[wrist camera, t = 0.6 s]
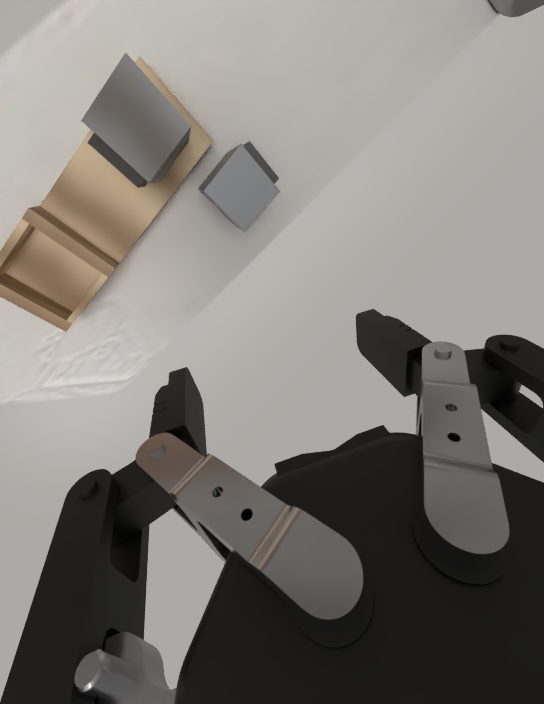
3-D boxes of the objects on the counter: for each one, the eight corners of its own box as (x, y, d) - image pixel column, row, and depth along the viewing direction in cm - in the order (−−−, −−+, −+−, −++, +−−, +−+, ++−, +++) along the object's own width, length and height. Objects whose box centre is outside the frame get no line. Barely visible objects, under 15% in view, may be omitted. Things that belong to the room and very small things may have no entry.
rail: (143, 67, 22) (118, -6, 14) (210, 144, 26) (225, 125, 17) (6, 271, 26) (-81, 316, 18) (79, 314, 30) (37, 369, 21)
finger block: (232, 146, 26) (249, 133, 20) (262, 182, 28) (287, 182, 22) (198, 188, 27) (203, 190, 20) (230, 220, 29) (244, 232, 23)
